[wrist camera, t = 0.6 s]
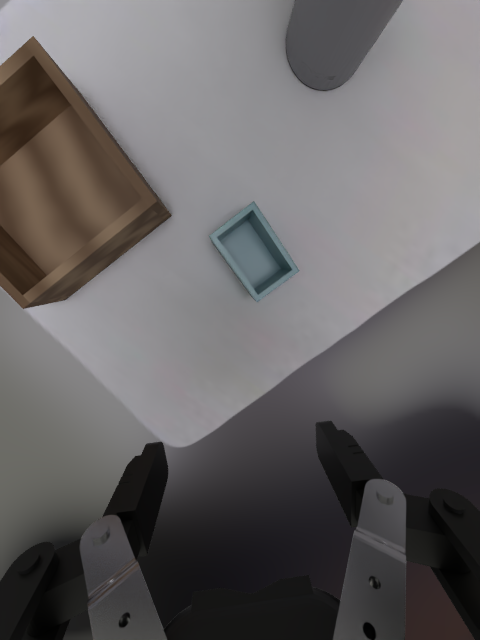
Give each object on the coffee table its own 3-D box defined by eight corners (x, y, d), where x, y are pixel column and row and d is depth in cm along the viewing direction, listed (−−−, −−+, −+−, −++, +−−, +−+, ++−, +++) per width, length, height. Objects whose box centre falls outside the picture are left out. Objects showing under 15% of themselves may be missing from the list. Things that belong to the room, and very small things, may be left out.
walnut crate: (80, 92, 28) (33, 35, 21) (171, 215, 31) (157, 201, 24) (-35, 192, 29) (-115, 169, 22) (65, 299, 32) (23, 308, 26)
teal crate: (248, 213, 32) (253, 201, 26) (286, 270, 34) (299, 270, 28) (211, 241, 32) (208, 235, 26) (251, 296, 34) (257, 302, 28)
